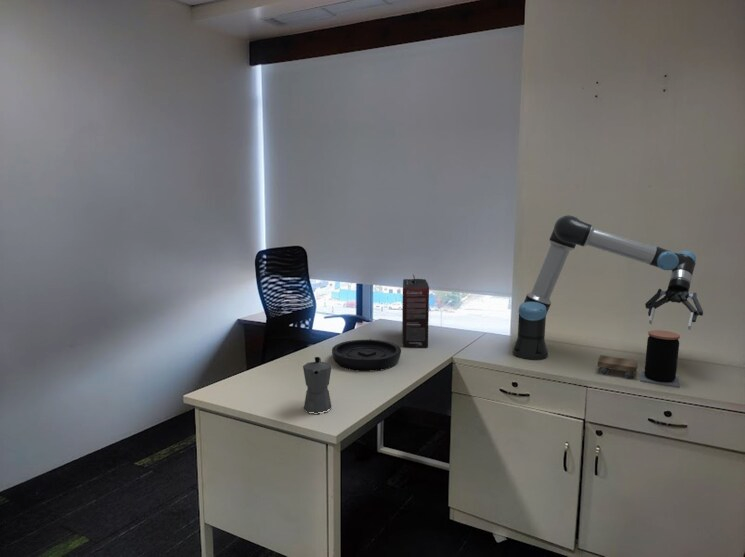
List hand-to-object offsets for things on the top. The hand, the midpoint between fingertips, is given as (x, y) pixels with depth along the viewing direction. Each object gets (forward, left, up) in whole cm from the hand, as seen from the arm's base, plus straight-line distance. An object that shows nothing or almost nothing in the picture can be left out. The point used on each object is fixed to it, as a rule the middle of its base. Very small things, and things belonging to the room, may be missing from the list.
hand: (669, 325), depth 197 cm
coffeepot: (-102, -98, -21) cm, 143 cm away
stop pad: (-2, -9, -20) cm, 22 cm away
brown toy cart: (-17, -9, -20) cm, 28 cm away
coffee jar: (-2, -9, -20) cm, 22 cm away
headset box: (-108, -8, -21) cm, 110 cm away
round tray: (-113, -47, -21) cm, 124 cm away
